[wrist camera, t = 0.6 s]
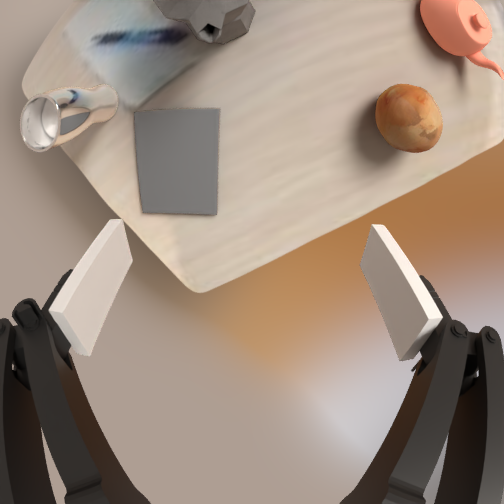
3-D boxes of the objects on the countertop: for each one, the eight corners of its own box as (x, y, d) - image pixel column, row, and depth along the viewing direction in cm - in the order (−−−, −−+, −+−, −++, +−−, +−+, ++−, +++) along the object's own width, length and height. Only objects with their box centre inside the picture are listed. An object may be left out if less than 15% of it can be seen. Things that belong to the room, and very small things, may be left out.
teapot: (439, -23, 16) (473, -32, 8) (486, 65, 24) (523, 72, 16) (394, -12, 20) (427, -25, 12) (450, 84, 28) (488, 93, 21)
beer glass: (98, 73, 28) (32, 81, 16) (130, 95, 31) (71, 110, 19) (76, 111, 31) (12, 136, 19) (106, 133, 34) (47, 165, 22)
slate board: (137, 111, 33) (134, 112, 32) (220, 107, 33) (219, 108, 32) (145, 209, 42) (142, 212, 41) (217, 211, 42) (217, 214, 42)
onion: (425, 97, 30) (465, 108, 22) (407, 151, 36) (443, 174, 28) (374, 70, 29) (410, 72, 21) (356, 130, 35) (386, 148, 27)
